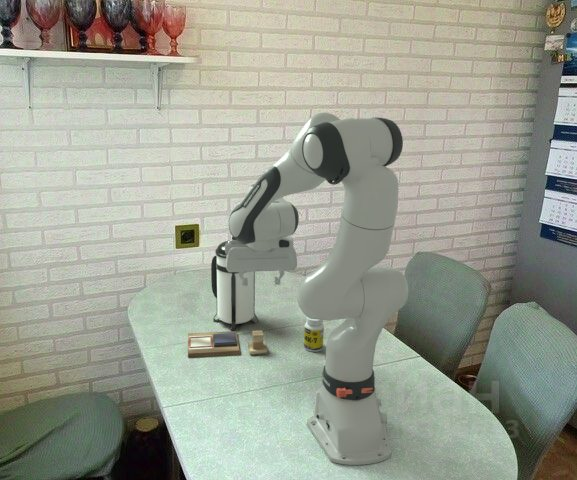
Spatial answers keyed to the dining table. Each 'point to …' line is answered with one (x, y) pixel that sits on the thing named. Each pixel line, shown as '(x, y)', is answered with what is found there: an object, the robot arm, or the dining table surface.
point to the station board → (213, 344)
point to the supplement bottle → (313, 335)
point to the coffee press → (232, 291)
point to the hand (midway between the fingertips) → (261, 284)
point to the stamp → (257, 344)
